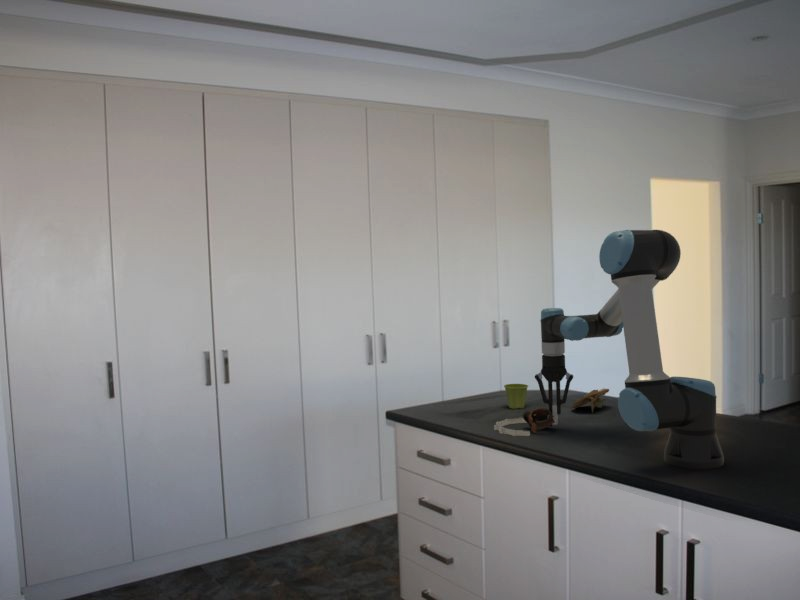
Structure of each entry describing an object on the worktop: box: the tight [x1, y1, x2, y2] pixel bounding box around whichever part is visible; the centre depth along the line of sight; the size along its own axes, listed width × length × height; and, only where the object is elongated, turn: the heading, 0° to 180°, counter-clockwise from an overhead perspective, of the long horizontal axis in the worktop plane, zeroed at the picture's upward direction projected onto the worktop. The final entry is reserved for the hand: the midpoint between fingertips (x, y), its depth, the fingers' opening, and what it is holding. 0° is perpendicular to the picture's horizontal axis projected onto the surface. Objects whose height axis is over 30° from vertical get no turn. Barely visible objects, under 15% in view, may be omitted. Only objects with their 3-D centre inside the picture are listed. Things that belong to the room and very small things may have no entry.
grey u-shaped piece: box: [493, 416, 531, 437], centre depth 231 cm, size 21×13×2 cm, turn 163°
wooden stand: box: [570, 387, 610, 414], centre depth 253 cm, size 18×14×8 cm
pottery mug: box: [522, 407, 555, 434], centre depth 226 cm, size 12×9×8 cm
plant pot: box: [503, 383, 529, 410], centre depth 264 cm, size 9×9×9 cm
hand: (555, 423), depth 227 cm, fingers closed
